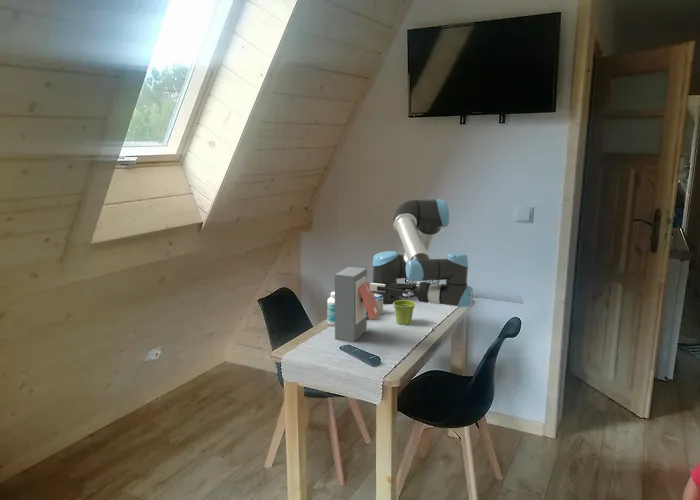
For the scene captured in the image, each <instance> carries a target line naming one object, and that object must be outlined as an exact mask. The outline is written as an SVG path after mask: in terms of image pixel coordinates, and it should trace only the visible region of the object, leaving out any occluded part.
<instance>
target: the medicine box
mask: <svg viewBox="0 0 700 500" xmlns="http://www.w3.org/2000/svg"><path fill="white" fill-rule="evenodd" d="M374 296H375V299H376V302H377V305H378V307H379V310H380V314H379V315H378V316H380V315H382V314H384V304H383V295H380V294H375V293H374Z"/></svg>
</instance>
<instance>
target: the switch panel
mask: <svg viewBox="0 0 700 500" xmlns="http://www.w3.org/2000/svg"><path fill="white" fill-rule="evenodd" d="M367 281H368V269H367V268H366V267H365V268H364V267H354V266H347V267H345V268H344V269H342V270H340V271H338V272H337V273H335V274H334V292H335V326H334V339H335V340H337V341H345V342H352V343H354V342H356V341H357V340H358V339H359V338H360V337H361V336H363V334H364V333H365V332H367V329H368V325H367V323H368V321H367V320H368V317H367V310H366V307H365V304H364V302H363V299H362V296H361V293H360V290H359V288H360V287H361V286H363V285H364V284H365V283H368V282H367Z"/></svg>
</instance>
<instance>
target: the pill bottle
mask: <svg viewBox="0 0 700 500" xmlns="http://www.w3.org/2000/svg"><path fill="white" fill-rule="evenodd" d="M326 303H327V304H326V309H327V313H326V314H327V315H326V316H327V317H326V319H327V320H326V321H327V324H328V325H330V326H332V327H335V291H332V292H330V297H329V298H327V302H326Z"/></svg>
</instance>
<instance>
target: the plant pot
mask: <svg viewBox="0 0 700 500" xmlns="http://www.w3.org/2000/svg"><path fill="white" fill-rule="evenodd" d="M392 305H393V308H394V312H395V319H396V323H397V324H398V325H402V326H403V325H404V326H407V325H410V324H412V318H413V312H414V308H415V307H416V302H415V301H412V300H407V299H405V300H404V299H400V300H398V301H395V302H393V303H392Z"/></svg>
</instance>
